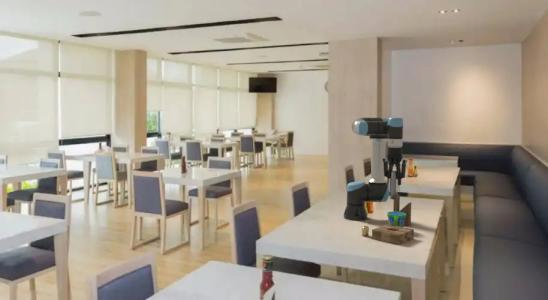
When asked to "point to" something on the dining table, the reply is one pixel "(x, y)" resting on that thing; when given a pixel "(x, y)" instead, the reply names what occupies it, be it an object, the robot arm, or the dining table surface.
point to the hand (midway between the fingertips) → (394, 190)
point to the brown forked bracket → (403, 210)
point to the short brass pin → (365, 231)
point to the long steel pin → (393, 185)
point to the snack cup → (396, 218)
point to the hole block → (393, 234)
